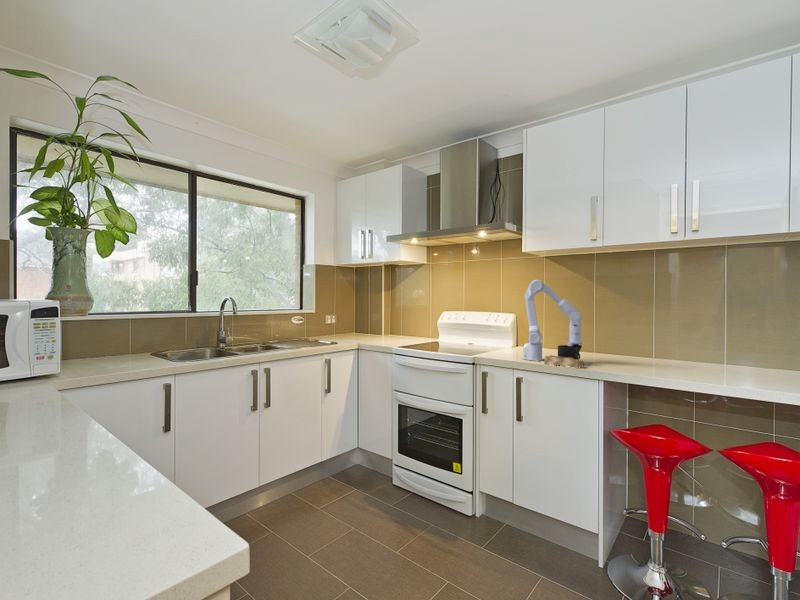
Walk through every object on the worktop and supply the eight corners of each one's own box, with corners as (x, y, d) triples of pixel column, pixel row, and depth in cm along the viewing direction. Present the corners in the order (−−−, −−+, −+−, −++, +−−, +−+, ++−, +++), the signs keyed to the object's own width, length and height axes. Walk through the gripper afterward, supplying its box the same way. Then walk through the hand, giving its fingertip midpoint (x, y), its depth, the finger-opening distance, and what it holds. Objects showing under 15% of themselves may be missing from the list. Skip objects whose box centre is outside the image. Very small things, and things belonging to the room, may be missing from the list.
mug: (574, 366, 200) (574, 348, 200) (553, 363, 210) (553, 345, 210) (585, 364, 205) (585, 347, 205) (565, 361, 215) (565, 344, 215)
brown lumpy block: (544, 364, 207) (544, 355, 207) (550, 362, 212) (550, 353, 212) (577, 368, 195) (577, 359, 195) (583, 366, 200) (583, 357, 200)
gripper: (577, 334, 205) (576, 361, 205) (588, 332, 215) (588, 357, 215) (563, 333, 210) (563, 359, 210) (575, 331, 220) (575, 356, 220)
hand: (575, 358), depth 213 cm, fingers closed
